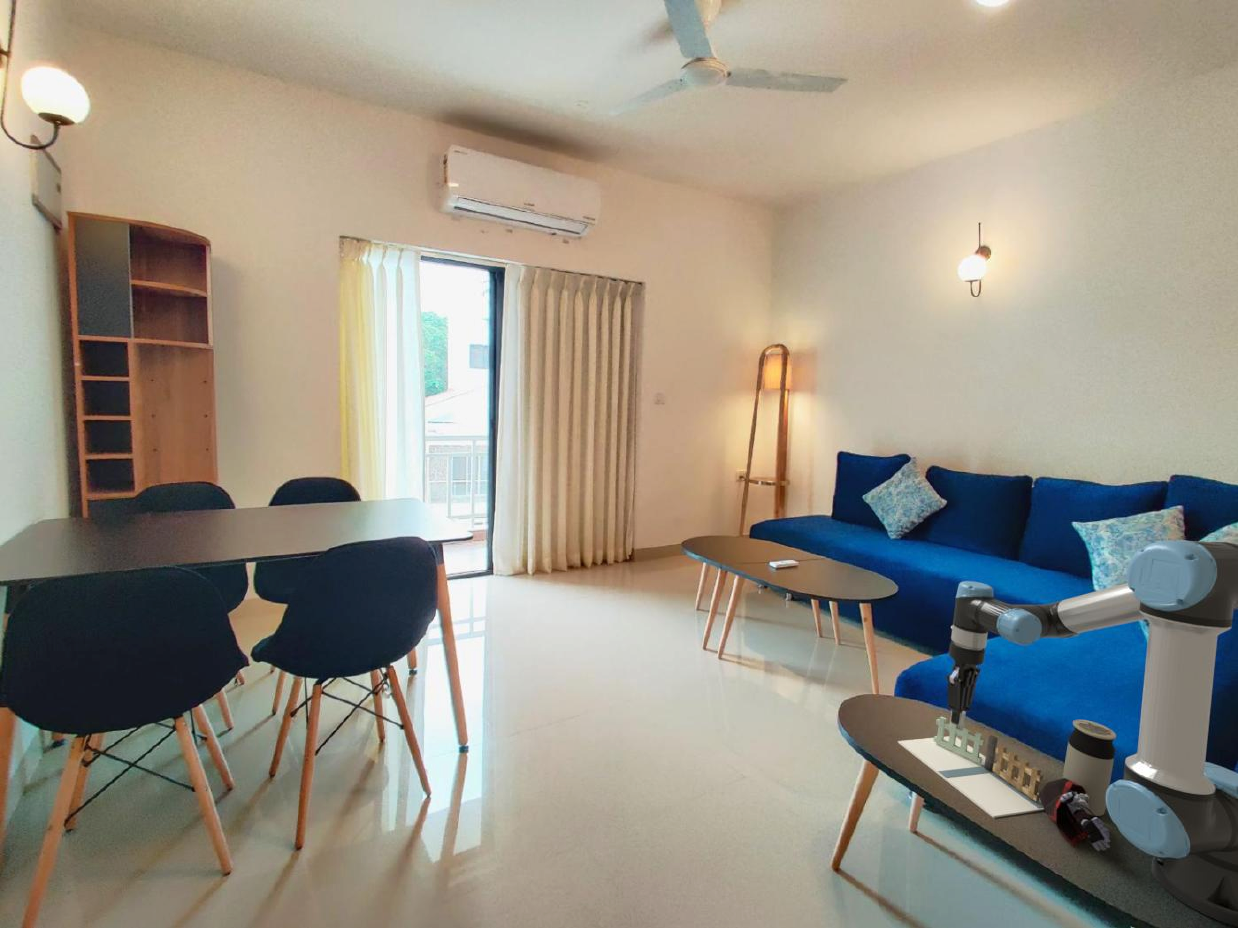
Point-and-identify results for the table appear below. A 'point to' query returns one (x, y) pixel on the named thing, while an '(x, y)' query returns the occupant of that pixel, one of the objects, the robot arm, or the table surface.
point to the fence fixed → (1012, 768)
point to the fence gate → (964, 741)
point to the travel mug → (1091, 761)
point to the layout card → (972, 778)
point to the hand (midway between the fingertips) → (955, 734)
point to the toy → (1073, 813)
